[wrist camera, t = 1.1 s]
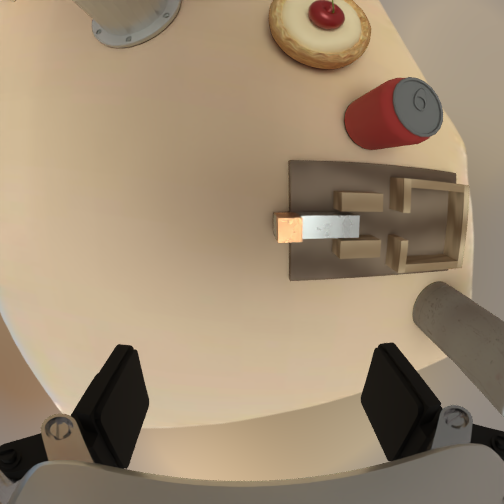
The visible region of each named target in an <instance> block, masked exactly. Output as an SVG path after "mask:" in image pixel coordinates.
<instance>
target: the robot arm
mask: <svg viewBox="0 0 504 504" xmlns="http://www.w3.org/2000/svg"><path fill="white" fill-rule="evenodd" d="M73 1H74V2H75V3H76V4H77V5H78V6H79V7H80V8H81V9H83V10H84V11H85V12H86V13H87V14H88V15H89V16H90V17H91V18H92V19H93V20H92V31H93V34H94V36H95V37H96V38H97V39H98V40H99V41H100V42H101V43H102V44H104V45H106V46H109V47H114V48H125V47H130V46H134V45H137V44H140V43H143V42H145V41H147V40H149V39H151V38H153V37H154V36H156V35H157V34H159V33H160V32H161V31H163V30H164V29H165V28H166V27H167V26H168V25H169V24H170V23H171V22H172V21H173V19H174V18H175V16H176V15H177V13H178V11H179V9H180V5H181V0H73ZM361 403H362V406H363V408H364V410H365V412H366V414H367V416H368V418H369V421H370V423H371V425H372V427H373V429H374V431H375V434H376V436H377V438H378V440H379V442H380V445H381V447H382V449H383V451H384V453H385V455H386V457H387V460H388V461H391V462H387V463H383V464H379V465H375V466H371V467H366V468H362V469H357V470H352V471H348V472H341V473H336V474H329V475H323V476H315V477H307V478H298V479H286V480H270V481H214V480H199V479H187V478H178V477H170V476H163V475H156V474H149V473H143V472H137V471H132V470H127V469H124V468H127V467H128V466H129V463H130V460H131V457H132V454H133V451H134V448H135V444H136V442H137V439H138V436H139V433H140V430H141V427H142V424H143V421H144V419H145V416H146V413H147V410H148V407H149V398H148V394H147V390H146V386H145V382H144V378H143V374H142V369H141V365H140V360H139V356H138V352H137V350H134V349H133V347H132V346H130V345H121V344H118V345H117V346H116V347H115V349H114V350H113V352H112V353H111V355H110V357H109V358H108V360H107V361H106V363H105V364H104V366H103V367H102V369H101V370H100V372H99V373H98V374H97V375H96V376H95V377H94V379H93V380H92V382H91V384H90V385H89V387H88V388H87V390H86V391H85V393H84V395H83V396H82V398H81V400H80V401H79V403H78V404H77V406H76V408H75V409H74V411H73V413H72V414H71V416H69V415H67V414H54V415H52V416H49V417H48V418H47V419H45V421H44V422H43V423H42V426H41V433H40V434H37V435H34V436H30V437H27V438H23V439H20V440H16V441H13V442H10V443H6V444H3V445H1V446H0V504H504V432H503V431H499V430H495V429H491V428H487V427H483V426H479V425H475V424H472V423H473V419H472V416H471V414H470V412H468V410H466V409H465V408H463V407H461V406H456V405H451V406H447V407H445V408H444V409H442V407H441V406H440V405H441V402H440V401H439V400H438V398H437V397H436V396H435V394H434V393H433V392H432V391H431V389H430V388H429V387H428V385H427V384H426V383H425V381H424V380H423V379H422V378H421V376H420V375H419V374H418V373H417V371H416V370H415V369H414V367H413V366H412V365H411V364H410V362H409V361H408V360H407V359H406V357H405V356H404V355H403V354H402V352H401V351H400V350H399V349H398V347H397V346H396V345H395V344H394V343H384V344H380V345H379V346H378V348H375V350H374V353H373V357H372V361H371V365H370V368H369V372H368V375H367V379H366V382H365V385H364V389H363V392H362V395H361Z"/></svg>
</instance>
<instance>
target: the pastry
mask: <svg viewBox="0 0 504 504" xmlns="http://www.w3.org/2000/svg"><path fill="white" fill-rule="evenodd" d="M269 25H270V30H271V33H272V36H273V38H274V39H275V41H276V42H277V44H278V45H279V46H280V48H281V49H282V50H283V51H284V52H285V53H286V54H287V55H289V56H290V57H292V58H293V59H295V60H297V61H298V62H300V63H303V64H305V65H308V66H311V67H315V68H321V69H337V68H341V67H344V66H346V65H348V64H351V63H352V62H354V61H355V60H356V59H358V58H359V57H360V56H361V55H362V54H363V53H364V51H365V50H366V48H367V46H368V44H369V41H370V36H371V26H370V23H369V21H368V19H367V17H366V15H365V13H364V12H363V10H362V9H361V8H360V7H359V6H358V5H357V4H356V3H355V2H354V1H353V0H273V2H272V3H271V6H270V10H269Z"/></svg>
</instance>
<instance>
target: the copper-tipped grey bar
mask: <svg viewBox="0 0 504 504" xmlns="http://www.w3.org/2000/svg"><path fill="white" fill-rule="evenodd" d="M273 218H274V235H275V237H276V239H277V241H278V243H287V242H302V239H320V238H359V222H360V216H359V215H357V214H354V213H351V212H281V213H273Z"/></svg>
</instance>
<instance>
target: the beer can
mask: <svg viewBox="0 0 504 504" xmlns="http://www.w3.org/2000/svg"><path fill="white" fill-rule="evenodd" d="M442 122H443V110H442V105H441V102H440V100H439V98H438V96H437V94H436V93H435V91H434V90H433V89H432V88H431V87H430V86H429V85H428V84H427V83H426V82H424V81H422V80H420V79H418V78H412V77H408V78H395V79H392V80H389V81H387V82H385V83H383V84H381V85H380V86H378V87H376V88H375V89H373V90H371V91H370V92H368V93H366V94H365V95H363V96H362V97H360V98H358V99H357V100H355V101H354V102H353V103H351V104H350V105H349V106H348V108H347V111H346V113H345V126H346V130H347V132H348V134H349V136H350V137H351V139H352V140H353V141H354V142H355V143H356V144H358V145H359V146H361V147H362V148H365V149H369V150H377V149H384V148H391V147H398V146H405V145H413V144H419V143H421V142H423V141H425V140H427V139H429V137H430V136H432V135H434V134H436V133H437V132H438V130H439V129H440V127H441V125H442Z"/></svg>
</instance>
